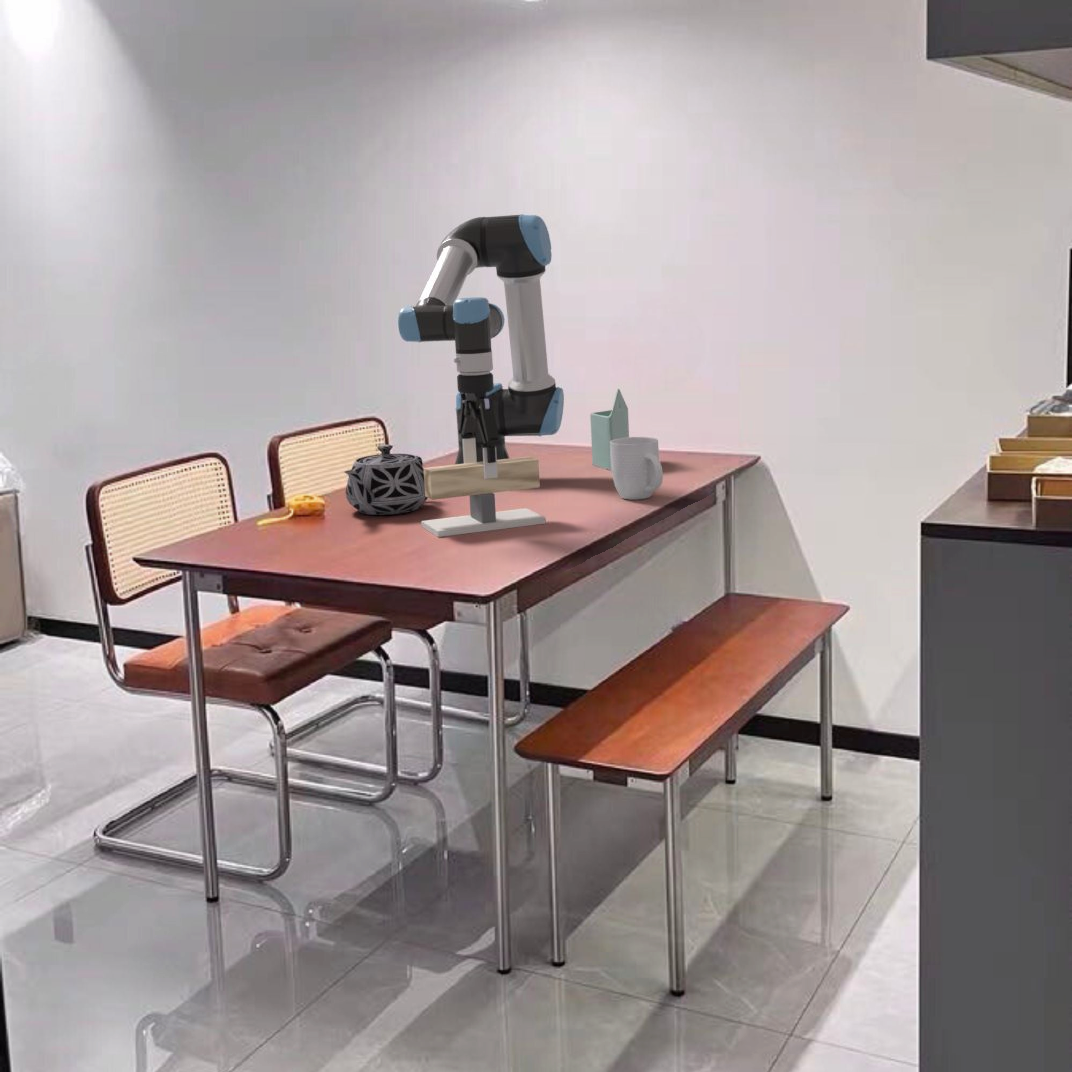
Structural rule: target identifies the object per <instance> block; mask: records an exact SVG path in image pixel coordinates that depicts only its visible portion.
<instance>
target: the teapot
mask: <svg viewBox="0 0 1072 1072" xmlns="http://www.w3.org/2000/svg"><path fill="white" fill-rule="evenodd" d="M393 446H394V445H392V444H381V445H378V446H377V447H376V448H377V449H378V451H379V452H381V453H379V454H373V455H366V456H361V457H359V458H357V459H355V460H354V462H353V464H352V467H351V469H350V470H349V469H348V470H345V471H343V473H345V474H346V475H348V478H347V482H346V488H345V497H346V500H347V502H348V503H349V504H350V506H352V507H353V508H355V510H357V512H359V513H361V514H365V515H369V516H370V515H371V516H391V515H399V514H406V513H409V512H413V511H416V510H418V509H419V508H421V506H422V505H423V504H425V502H426V501H427V500H428V499H429V498H428V497H426V496H425V483H424V467H423V465H424V464H423V459H422V457H420V456H419V455H414V454H412V453H411V454H409V453H390V452H391V450H392V449H393Z"/></svg>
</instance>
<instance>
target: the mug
mask: <svg viewBox="0 0 1072 1072" xmlns="http://www.w3.org/2000/svg"><path fill="white" fill-rule="evenodd" d="M659 450H660V448H659V439H658V438H655V437H648V436H629V437H626V438H619V439H614V440H611V441H610V459H611V460H610V461H611V470H612V471H611V474H612V475H611V477H612V479H613V484H614V486H615V489H616V491H617V493H618V494H619V496H620V498H622V499H624V500H632V501H634V500H635V501H636V500H646V499H649V498H650V497H651V496H652V495H653V493H654V491H657V490H659V489H660V487H661V486H662V484H663V479H664V477H663V476H664V473H663V467H662V463H661V461H660V455H659V454H660V452H659Z"/></svg>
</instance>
